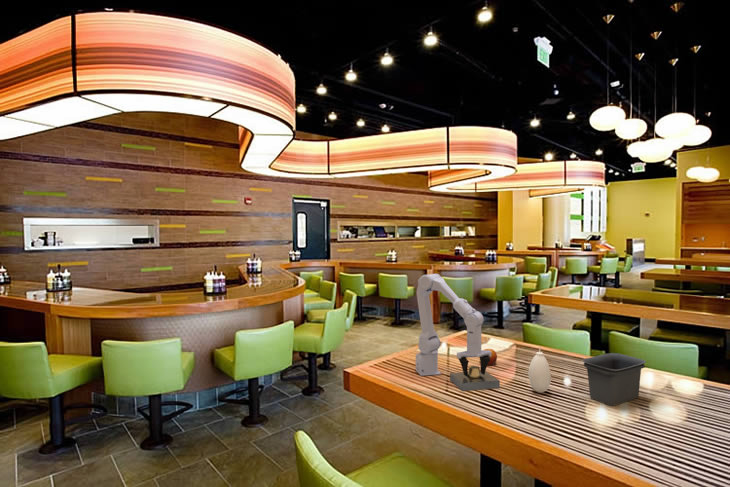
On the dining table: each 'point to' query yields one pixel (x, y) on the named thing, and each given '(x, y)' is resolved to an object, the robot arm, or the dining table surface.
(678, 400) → the dining table surface
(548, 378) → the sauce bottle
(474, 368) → the bushing
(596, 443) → the dining table surface
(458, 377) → the jig
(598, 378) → the storage bin
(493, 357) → the fruit
